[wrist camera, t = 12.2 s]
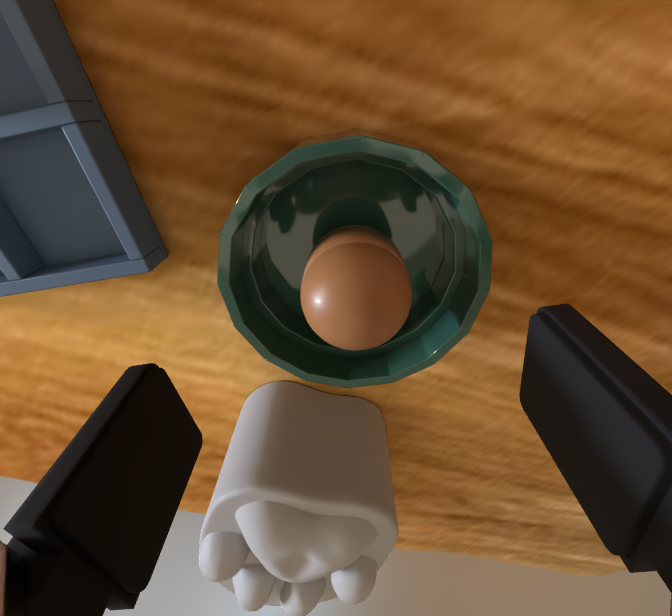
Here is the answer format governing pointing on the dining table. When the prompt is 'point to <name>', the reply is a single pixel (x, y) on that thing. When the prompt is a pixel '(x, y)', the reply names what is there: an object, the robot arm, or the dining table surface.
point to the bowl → (354, 209)
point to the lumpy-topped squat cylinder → (301, 501)
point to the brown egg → (355, 288)
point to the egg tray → (61, 166)
